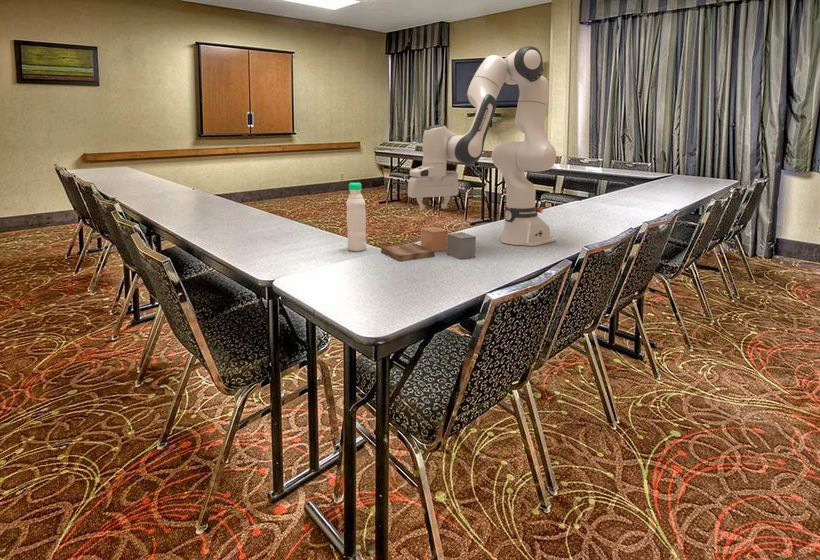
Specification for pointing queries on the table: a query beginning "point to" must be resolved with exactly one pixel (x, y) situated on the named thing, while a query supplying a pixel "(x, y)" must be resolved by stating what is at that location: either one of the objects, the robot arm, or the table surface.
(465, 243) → the charcoal cover
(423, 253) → the walnut board
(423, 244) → the terracotta cover
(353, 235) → the water bottle
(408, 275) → the table surface
